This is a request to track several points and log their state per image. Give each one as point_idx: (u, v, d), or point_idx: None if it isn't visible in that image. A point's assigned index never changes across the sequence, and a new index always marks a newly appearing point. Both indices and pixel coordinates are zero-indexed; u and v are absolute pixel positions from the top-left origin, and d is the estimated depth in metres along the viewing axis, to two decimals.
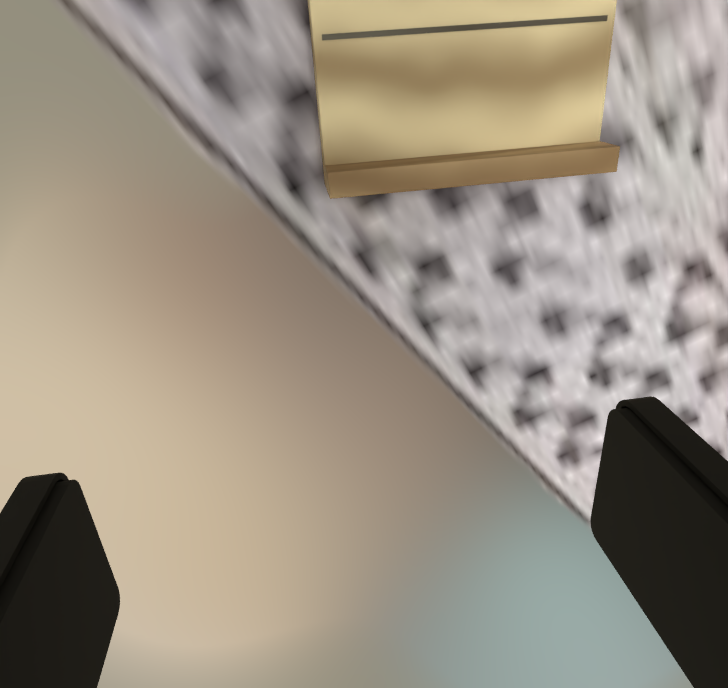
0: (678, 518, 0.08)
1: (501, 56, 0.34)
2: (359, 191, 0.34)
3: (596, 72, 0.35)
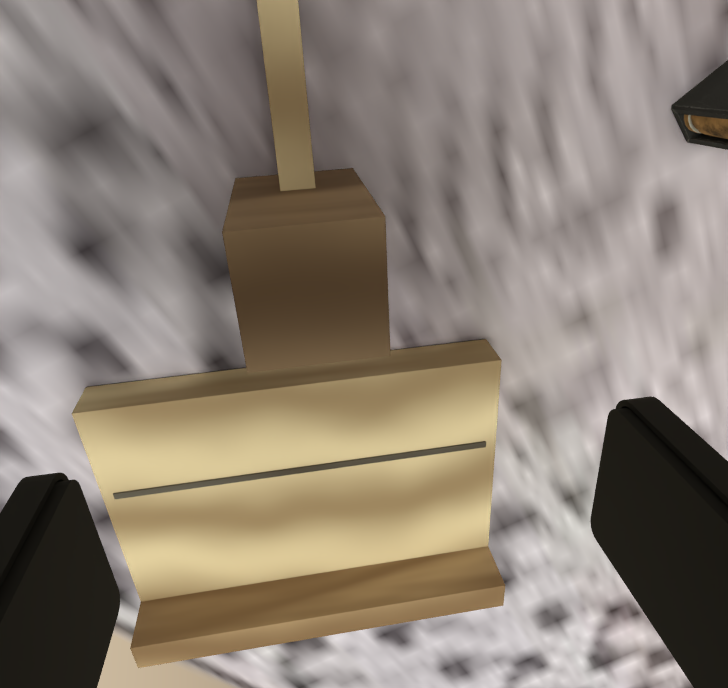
0: (678, 518, 0.08)
1: (354, 488, 0.27)
2: (175, 658, 0.27)
3: (477, 490, 0.28)
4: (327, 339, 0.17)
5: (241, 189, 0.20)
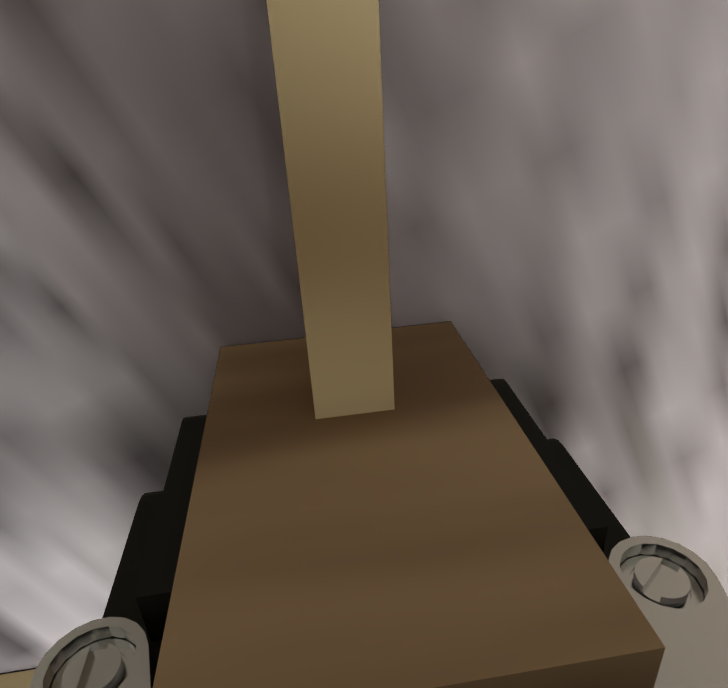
0: None
1: None
2: None
3: None
4: None
5: (229, 402, 0.09)
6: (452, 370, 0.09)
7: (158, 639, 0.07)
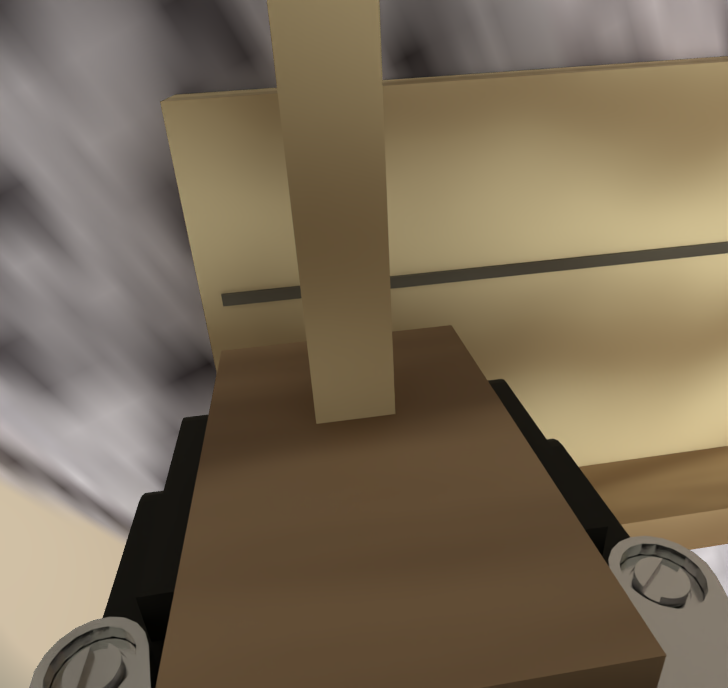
0: None
1: (622, 313, 0.16)
2: None
3: None
4: None
5: (229, 406, 0.09)
6: (453, 374, 0.09)
7: (158, 639, 0.07)
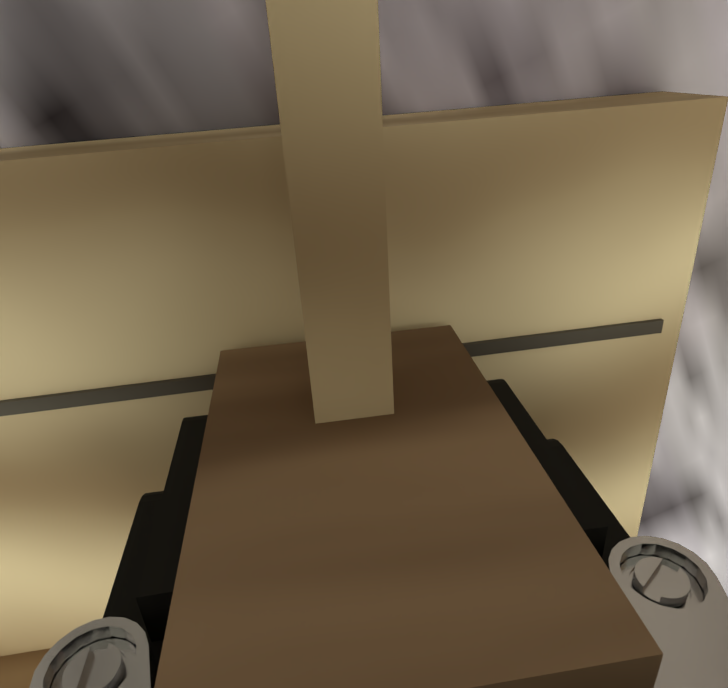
0: None
1: None
2: None
3: (629, 435, 0.14)
4: None
5: (228, 406, 0.09)
6: (451, 374, 0.09)
7: (158, 639, 0.07)
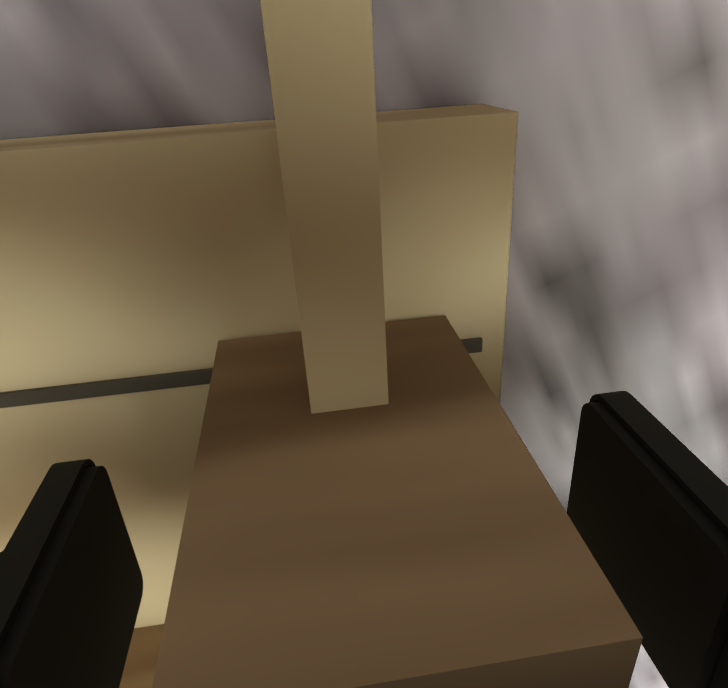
0: (644, 508, 0.08)
1: (187, 445, 0.12)
2: None
3: None
4: None
5: (226, 396, 0.09)
6: (445, 365, 0.10)
7: None
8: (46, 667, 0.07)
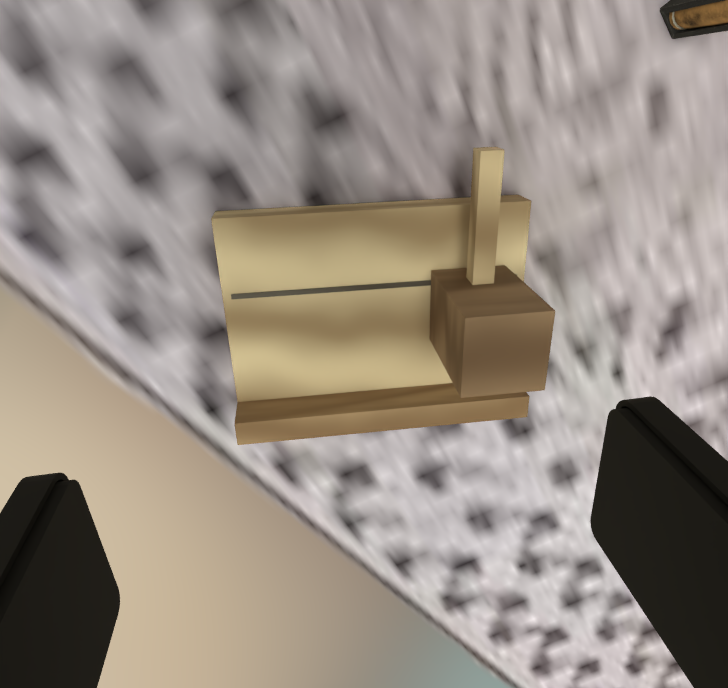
0: (678, 518, 0.08)
1: (412, 309, 0.34)
2: (267, 438, 0.34)
3: None
4: (510, 379, 0.29)
5: (445, 281, 0.31)
6: (508, 276, 0.32)
7: None
8: None
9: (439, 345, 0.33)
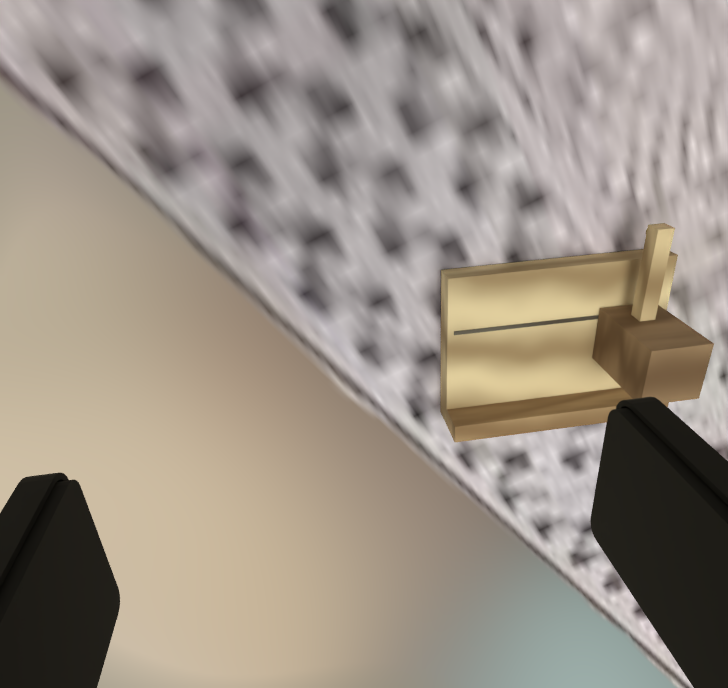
0: (678, 518, 0.08)
1: (582, 336, 0.45)
2: (476, 436, 0.45)
3: None
4: (676, 391, 0.40)
5: (617, 318, 0.42)
6: (662, 312, 0.43)
7: None
8: None
9: (608, 364, 0.44)
